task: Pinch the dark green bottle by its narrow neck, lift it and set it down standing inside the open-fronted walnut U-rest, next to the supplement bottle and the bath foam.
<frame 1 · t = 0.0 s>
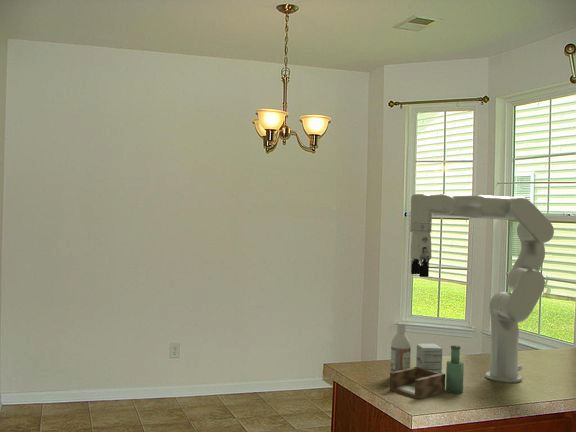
hand: (419, 275, 220), 37 cm above the kitchen counter, tool pointing down, fingers open, 9 cm apart
bath foam: (400, 378, 220), on the kitchen counter
walnut U-rest: (417, 391, 204), on the kitchen counter
green bottle: (454, 390, 206), on the kitchen counter
supplement box: (428, 381, 218), on the kitchen counter
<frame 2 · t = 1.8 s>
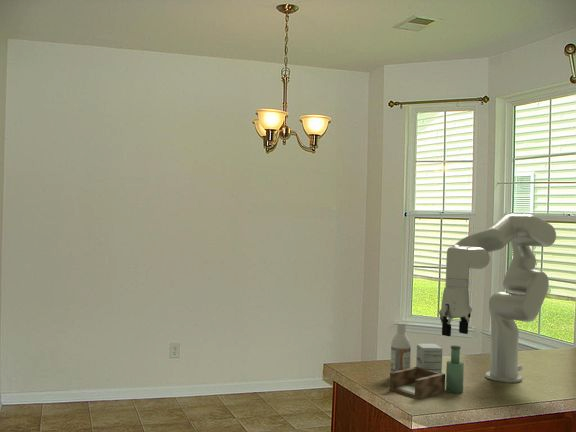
hand: (454, 334, 205), 19 cm above the kitchen counter, tool pointing down, fingers open, 9 cm apart
nothing on the kitchen counter moved.
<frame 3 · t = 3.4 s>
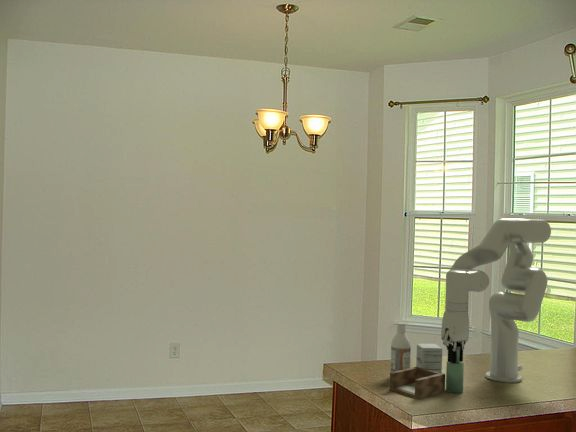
hand: (455, 361, 206), 10 cm above the kitchen counter, tool pointing down, fingers closed on green bottle, 2 cm apart
green bottle: (454, 390, 206), on the kitchen counter, touching gripper
everything else where it was.
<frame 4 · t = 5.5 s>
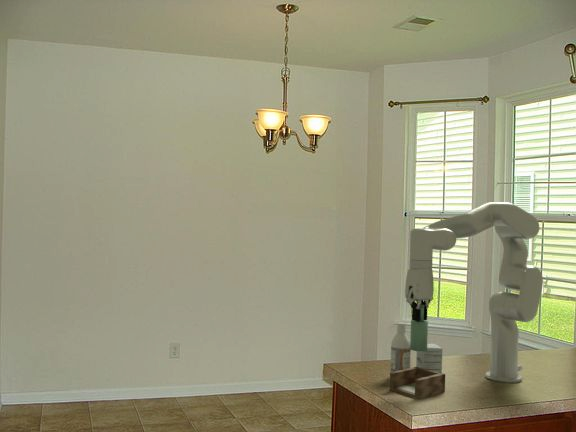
hand: (419, 319, 204), 24 cm above the kitchen counter, tool pointing down, fingers closed on green bottle, 2 cm apart
green bottle: (418, 349, 204), point 14 cm above the kitchen counter, touching gripper
everything else where it was.
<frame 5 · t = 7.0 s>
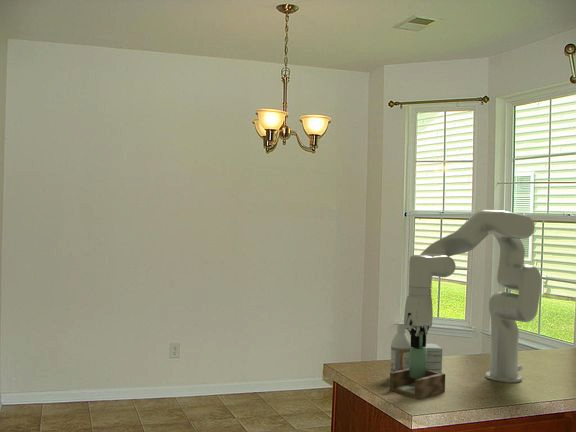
hand: (418, 346, 204), 15 cm above the kitchen counter, tool pointing down, fingers closed on green bottle, 2 cm apart
green bottle: (417, 376, 204), point 5 cm above the kitchen counter, touching gripper
everything else where it was.
when the fingers open (12 cm above the kitchen counter, at t = 7.9 s): green bottle stays where it is, resting on walnut U-rest.
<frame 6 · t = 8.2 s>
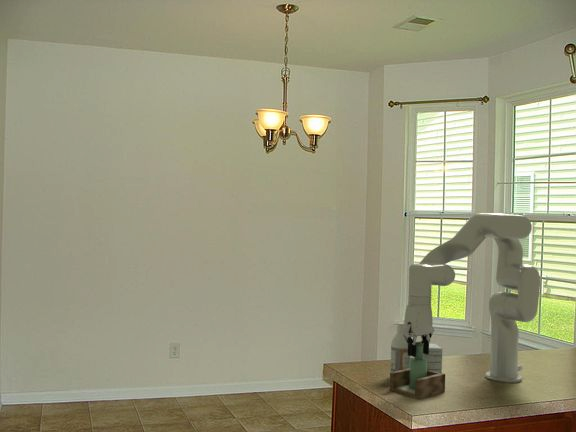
hand: (418, 354, 204), 12 cm above the kitchen counter, tool pointing down, fingers open, 6 cm apart
green bottle: (417, 387, 204), point 1 cm above the kitchen counter, touching walnut U-rest
everything else where it was.
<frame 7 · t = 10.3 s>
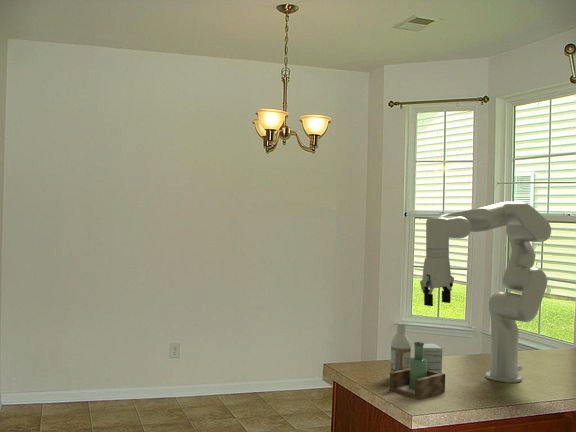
hand: (437, 304, 207), 29 cm above the kitchen counter, tool pointing down, fingers open, 9 cm apart
nothing on the kitchen counter moved.
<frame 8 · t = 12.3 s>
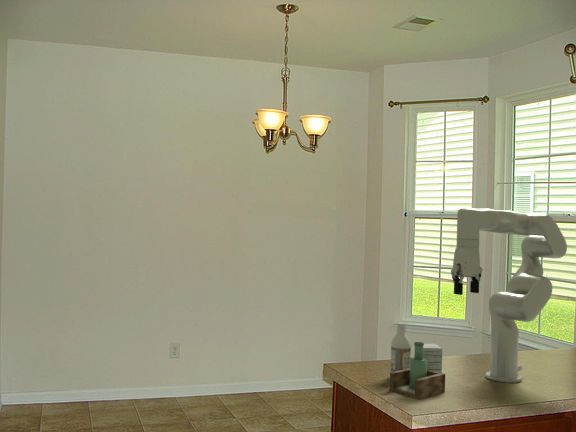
hand: (466, 293, 211), 32 cm above the kitchen counter, tool pointing down, fingers open, 9 cm apart
nothing on the kitchen counter moved.
at the end: green bottle inside the target area on the walnut U-rest (1.0 cm from its centre), point 1.2 cm above the walnut U-rest's base; green bottle tilted 0°; the gripper is holding nothing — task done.
